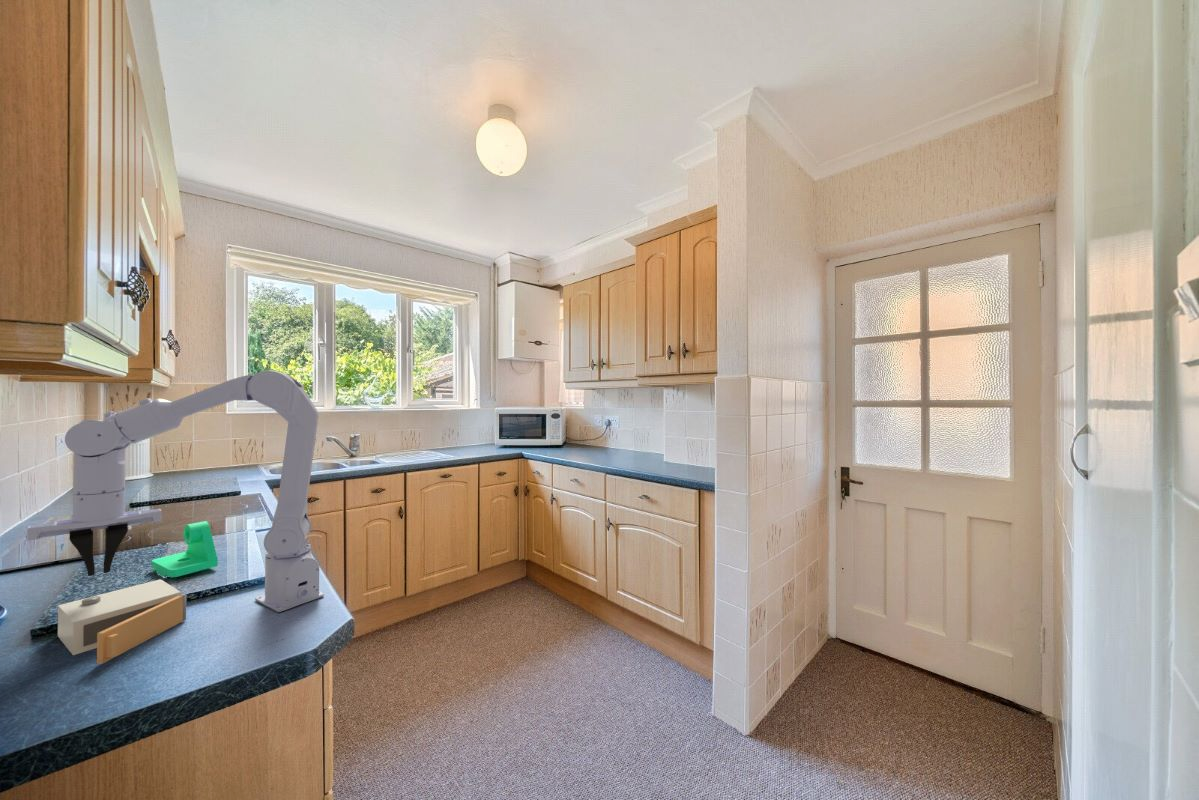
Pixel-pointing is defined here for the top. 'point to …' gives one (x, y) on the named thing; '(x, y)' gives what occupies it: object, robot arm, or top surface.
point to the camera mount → (190, 553)
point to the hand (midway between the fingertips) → (99, 572)
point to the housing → (107, 612)
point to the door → (140, 628)
